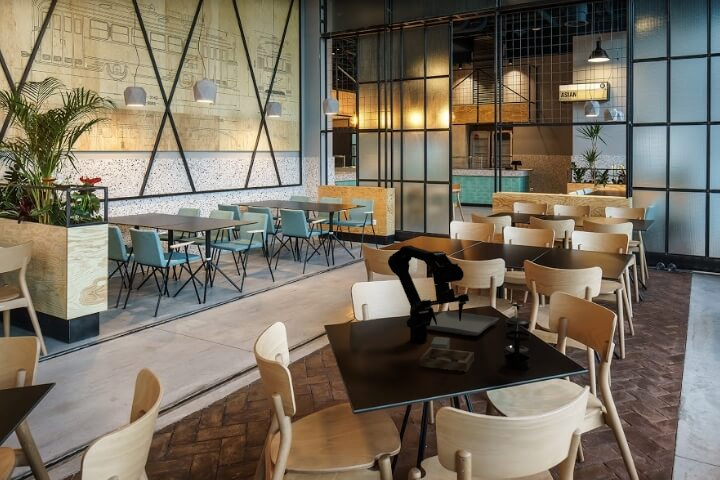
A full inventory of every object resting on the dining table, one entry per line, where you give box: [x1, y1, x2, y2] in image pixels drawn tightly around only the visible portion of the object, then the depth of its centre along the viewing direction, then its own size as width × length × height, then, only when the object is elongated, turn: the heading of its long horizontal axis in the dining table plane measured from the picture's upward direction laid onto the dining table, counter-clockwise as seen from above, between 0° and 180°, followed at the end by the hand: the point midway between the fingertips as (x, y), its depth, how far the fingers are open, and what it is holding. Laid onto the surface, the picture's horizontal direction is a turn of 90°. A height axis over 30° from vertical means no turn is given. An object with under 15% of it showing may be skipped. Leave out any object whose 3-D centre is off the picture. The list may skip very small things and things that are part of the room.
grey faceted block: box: [430, 336, 451, 350], centre depth 233 cm, size 6×9×4 cm, turn 164°
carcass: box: [419, 347, 475, 373], centre depth 219 cm, size 17×13×4 cm
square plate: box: [427, 311, 500, 337], centre depth 266 cm, size 27×27×4 cm
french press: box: [502, 303, 532, 371], centre depth 215 cm, size 12×9×23 cm
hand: (448, 323), depth 231 cm, fingers open, 9 cm apart
